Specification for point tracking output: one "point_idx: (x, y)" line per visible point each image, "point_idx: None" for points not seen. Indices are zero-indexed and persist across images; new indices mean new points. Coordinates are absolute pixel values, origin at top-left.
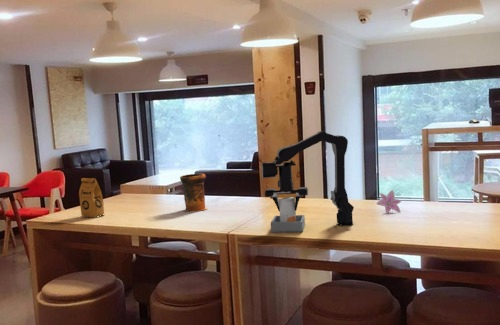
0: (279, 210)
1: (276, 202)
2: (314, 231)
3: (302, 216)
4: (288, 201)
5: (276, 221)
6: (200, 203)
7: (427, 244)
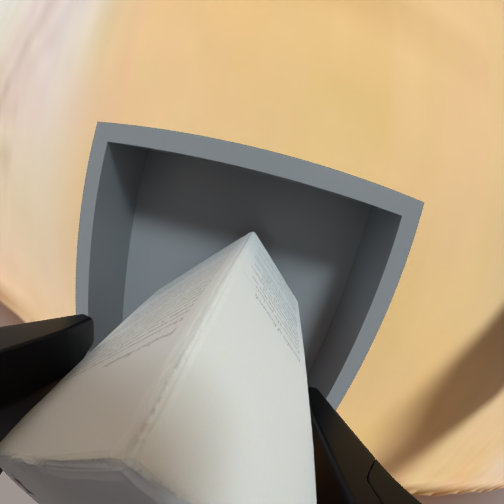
0: (84, 353)
1: (6, 435)
2: (377, 396)
3: (387, 273)
4: None
5: (132, 154)
6: None
7: (497, 484)
